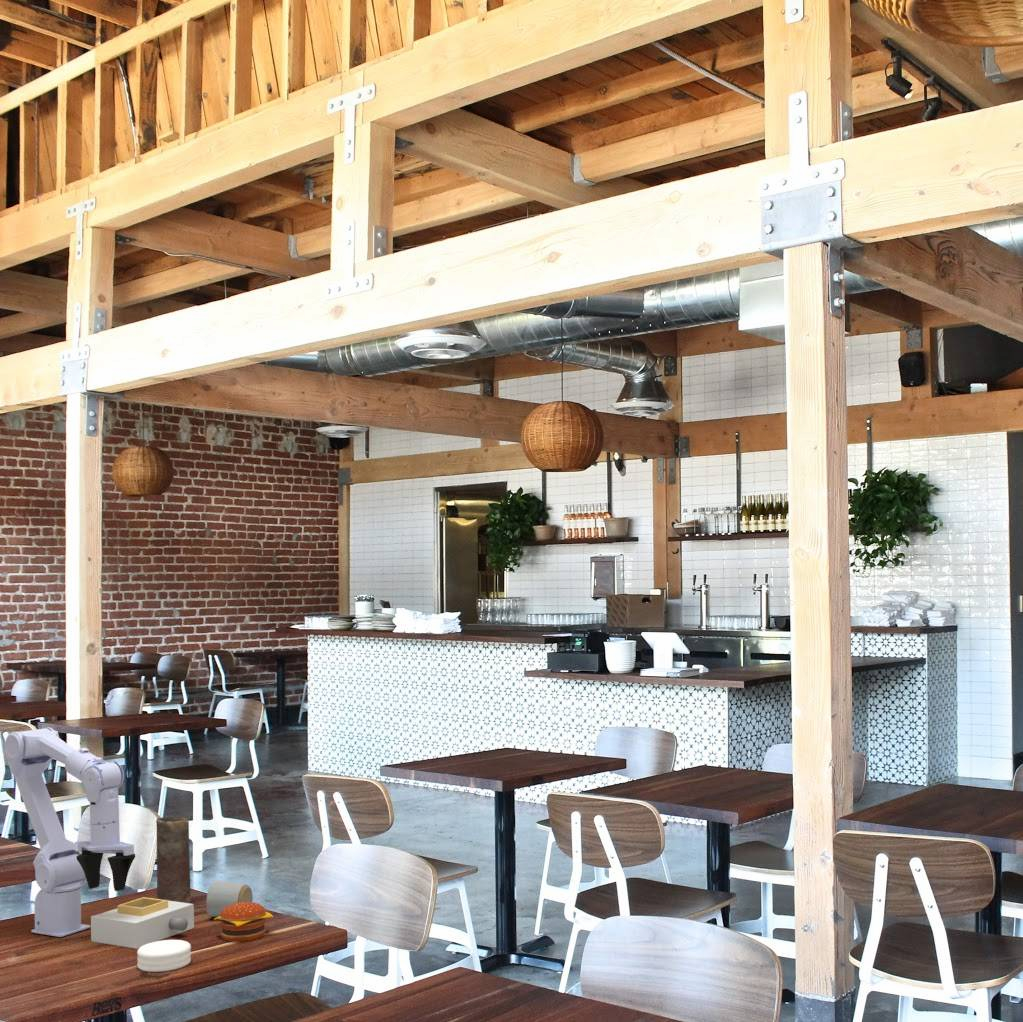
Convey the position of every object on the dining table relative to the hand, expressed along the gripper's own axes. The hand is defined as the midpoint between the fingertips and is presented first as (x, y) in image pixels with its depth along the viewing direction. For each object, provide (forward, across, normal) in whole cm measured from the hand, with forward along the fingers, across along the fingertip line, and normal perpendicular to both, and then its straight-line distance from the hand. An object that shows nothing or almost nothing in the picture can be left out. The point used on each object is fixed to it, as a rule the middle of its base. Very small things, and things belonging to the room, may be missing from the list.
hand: (106, 888), depth 253 cm
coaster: (+12, +23, -7) cm, 27 cm away
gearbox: (+11, +5, +6) cm, 13 cm away
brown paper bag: (+10, -7, +25) cm, 28 cm away
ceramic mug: (+11, +10, +25) cm, 29 cm away
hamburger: (+11, +24, +14) cm, 30 cm away
